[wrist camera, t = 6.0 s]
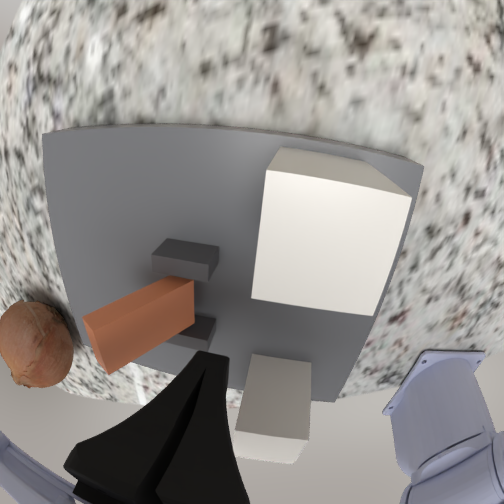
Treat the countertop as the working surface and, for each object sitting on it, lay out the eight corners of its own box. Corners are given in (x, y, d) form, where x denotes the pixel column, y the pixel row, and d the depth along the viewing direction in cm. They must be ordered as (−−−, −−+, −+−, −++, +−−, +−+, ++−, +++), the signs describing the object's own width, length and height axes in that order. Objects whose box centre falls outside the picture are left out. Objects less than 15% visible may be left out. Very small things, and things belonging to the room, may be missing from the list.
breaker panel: (333, 374, 23) (334, 423, 18) (99, 324, 25) (72, 358, 20) (404, 156, 14) (441, 175, 10) (70, 127, 16) (20, 139, 12)
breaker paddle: (194, 323, 16) (108, 375, 12) (180, 313, 17) (97, 360, 13) (193, 280, 15) (93, 331, 11) (179, 270, 16) (81, 316, 11)
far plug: (298, 395, 20) (293, 464, 15) (246, 387, 20) (231, 455, 15) (311, 362, 18) (308, 440, 13) (252, 353, 19) (234, 430, 13)
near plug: (348, 239, 14) (372, 316, 9) (270, 226, 14) (251, 298, 9) (366, 161, 12) (411, 197, 7) (280, 146, 13) (266, 169, 7)
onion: (76, 328, 31) (43, 393, 25) (20, 281, 26) (-18, 349, 20) (102, 337, 25) (61, 420, 19) (28, 277, 20) (-21, 367, 14)
